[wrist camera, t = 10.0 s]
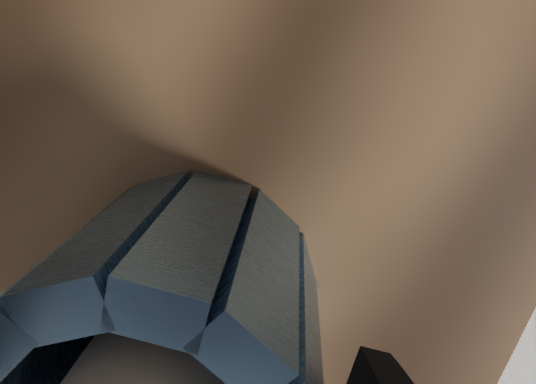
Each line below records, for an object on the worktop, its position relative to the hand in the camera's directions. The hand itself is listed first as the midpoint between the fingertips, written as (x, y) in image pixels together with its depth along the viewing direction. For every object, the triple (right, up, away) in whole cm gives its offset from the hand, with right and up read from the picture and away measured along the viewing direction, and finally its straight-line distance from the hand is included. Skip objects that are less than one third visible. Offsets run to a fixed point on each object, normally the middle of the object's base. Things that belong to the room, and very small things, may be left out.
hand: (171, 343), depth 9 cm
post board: (0, +1, +3) cm, 3 cm away
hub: (0, +1, +2) cm, 2 cm away
